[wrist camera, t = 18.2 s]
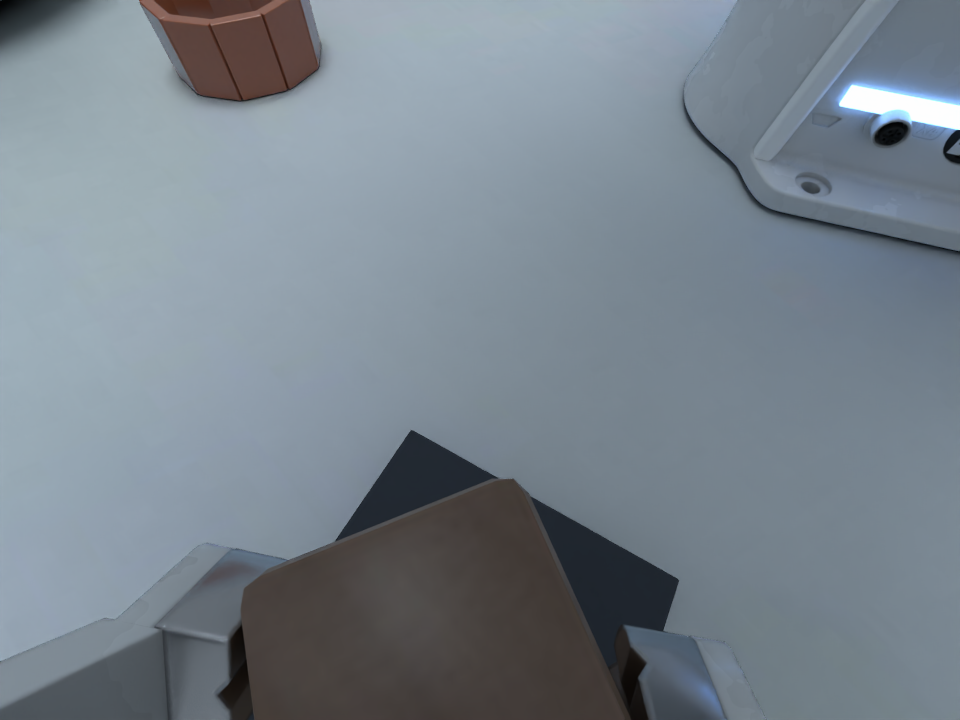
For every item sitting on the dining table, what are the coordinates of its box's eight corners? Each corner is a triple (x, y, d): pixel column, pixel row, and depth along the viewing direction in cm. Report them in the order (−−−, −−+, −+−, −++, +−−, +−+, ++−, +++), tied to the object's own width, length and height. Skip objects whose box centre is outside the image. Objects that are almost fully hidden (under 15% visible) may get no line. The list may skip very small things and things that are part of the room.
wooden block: (495, 547, 13) (520, 459, 6) (559, 706, 12) (687, 824, 5) (360, 606, 13) (221, 577, 6) (404, 787, 11) (279, 1073, 4)
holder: (349, 46, 31) (333, -28, 27) (253, 117, 27) (220, 41, 23) (251, 13, 33) (225, -59, 29) (149, 74, 29) (104, -1, 25)
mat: (675, 580, 15) (679, 579, 14) (536, 1010, 10) (538, 1023, 10) (412, 433, 17) (411, 429, 17) (210, 731, 13) (202, 733, 12)
